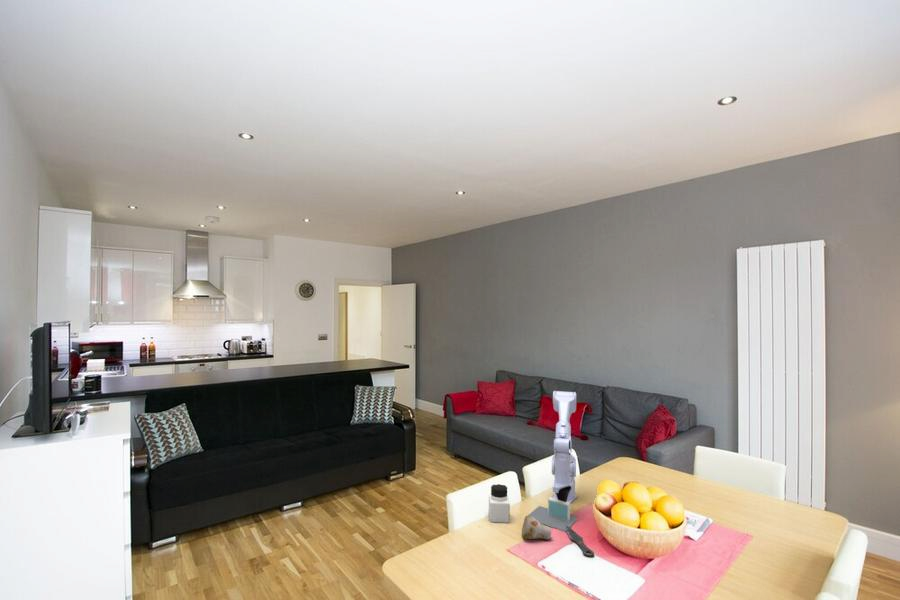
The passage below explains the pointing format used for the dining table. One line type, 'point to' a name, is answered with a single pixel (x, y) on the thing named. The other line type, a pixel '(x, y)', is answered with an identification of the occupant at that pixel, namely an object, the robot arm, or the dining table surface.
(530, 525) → the mug
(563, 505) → the tile
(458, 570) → the dining table surface
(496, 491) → the medicine bottle
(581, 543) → the throwing knife
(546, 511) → the mat
